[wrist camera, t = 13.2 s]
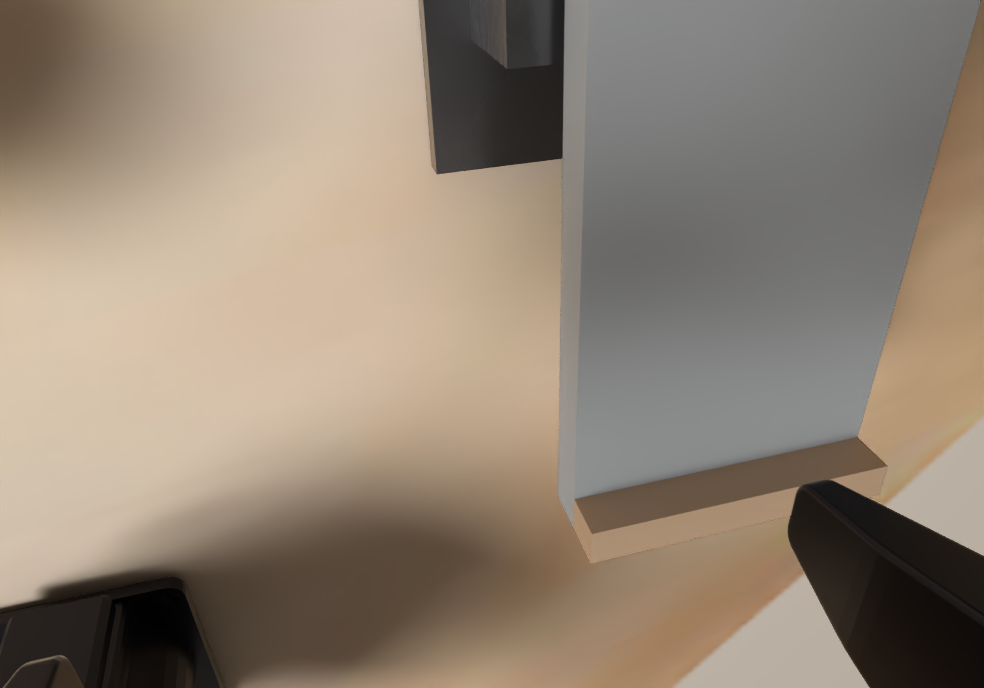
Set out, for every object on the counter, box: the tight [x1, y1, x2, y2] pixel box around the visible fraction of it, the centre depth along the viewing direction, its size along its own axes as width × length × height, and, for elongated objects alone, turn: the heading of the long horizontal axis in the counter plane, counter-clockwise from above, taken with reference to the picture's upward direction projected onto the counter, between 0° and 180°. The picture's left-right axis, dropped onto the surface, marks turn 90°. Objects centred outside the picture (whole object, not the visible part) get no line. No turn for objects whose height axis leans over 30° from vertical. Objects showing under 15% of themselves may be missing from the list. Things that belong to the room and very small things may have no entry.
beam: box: [558, 0, 981, 564], centre depth 14 cm, size 22×8×2 cm, turn 2°
